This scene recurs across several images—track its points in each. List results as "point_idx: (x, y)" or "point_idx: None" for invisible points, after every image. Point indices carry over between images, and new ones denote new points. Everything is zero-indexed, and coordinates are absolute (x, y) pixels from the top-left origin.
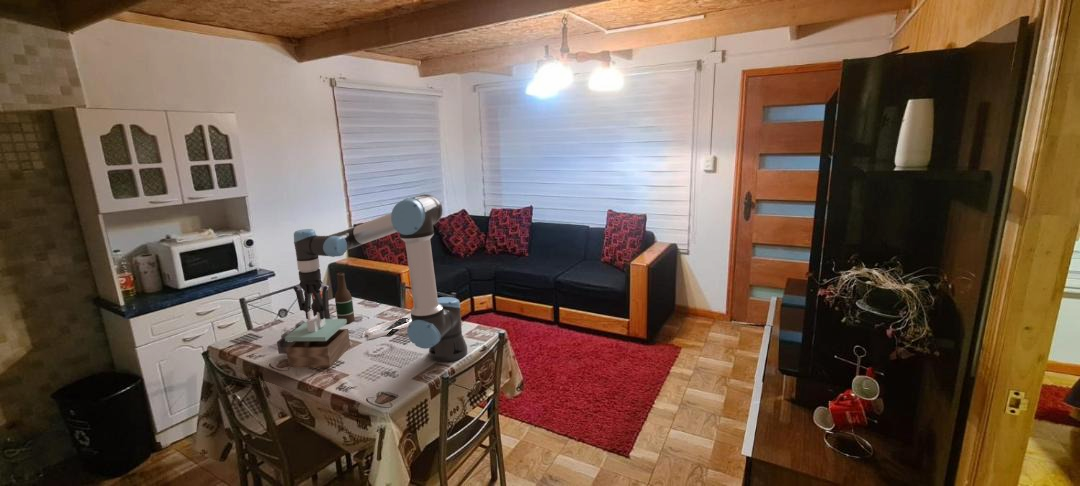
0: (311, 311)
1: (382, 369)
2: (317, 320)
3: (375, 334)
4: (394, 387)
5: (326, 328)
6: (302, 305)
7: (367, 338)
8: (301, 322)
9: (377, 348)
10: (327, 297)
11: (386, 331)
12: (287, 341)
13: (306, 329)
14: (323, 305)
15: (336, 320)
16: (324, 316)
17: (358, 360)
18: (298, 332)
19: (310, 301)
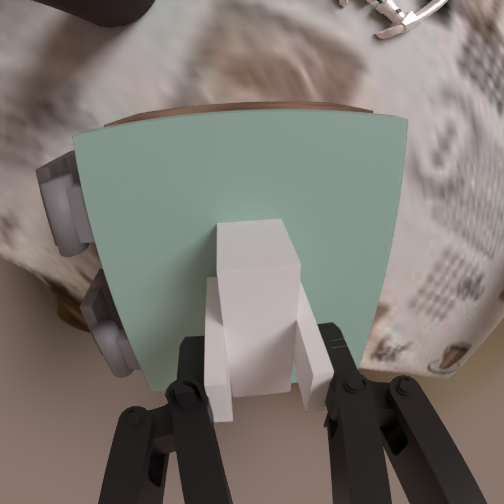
0: (228, 394)
1: (460, 272)
2: (291, 358)
3: (415, 25)
4: (470, 329)
5: (327, 295)
6: (162, 476)
7: (380, 34)
8: (65, 215)
9: (439, 131)
10: (459, 482)
11: (442, 5)
12: (99, 289)
13: (195, 319)
14: (393, 450)
15: (344, 148)
16: (340, 337)
17: (399, 226)
18: (177, 353)
19: (226, 489)
